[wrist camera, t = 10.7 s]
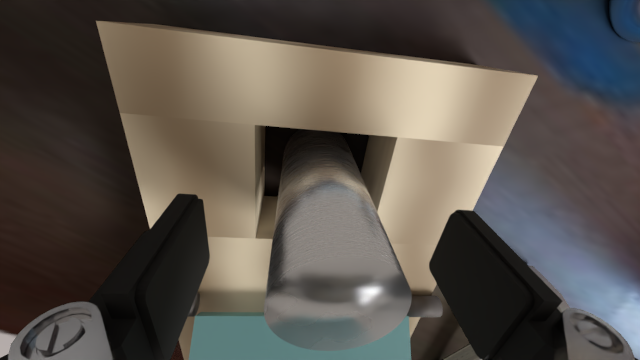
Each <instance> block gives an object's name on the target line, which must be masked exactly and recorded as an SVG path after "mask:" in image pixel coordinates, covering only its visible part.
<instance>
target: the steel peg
mask: <svg viewBox="0 0 640 360" xmlns="http://www.w3.org/2000/svg"><path fill="white" fill-rule="evenodd" d="M411 300H412V295H411V290H410V286H409V284H408V282H407V279H406V277H405V275H404V273H403V270H402V268H401V266H400V263H399V261H398V259H397V256H396V254H395V252H394V250H393V247H392V245H391V243H390V240H389V238H388V236H387V234H386V231H385V229H384V227H383V224H382V222H381V220H380V217H379V215H378V213H377V211H376V208H375V206H374V204H373V201H372V199H371V197H370V194H369V192H368V190H367V188H366V185H365V183H364V181H363V178H362V176H361V174H360V172H359V169H358V167H357V165H356V162H355V160H354V158H353V155H352V153H351V151H350V149H349V146H348V144H347V142H346V140H345V139H344V137H343V136H342V135H341V134H340V133H339V132H332V131H320V130H309V129H300V130H298V131H297V132H295V133H294V134H293V135H292V136H291V137H290V139H289V140H288V142H287V143H286V146H285V149H284V154H283V162H282V170H281V178H280V186H279V193H278V201H277V209H276V217H275V225H274V232H273V240H272V248H271V256H270V264H269V271H268V279H267V287H266V295H265V303H264V317H265V320H266V323H267V325H268V326H269V328H270V329H271V330H272V332H273V333H274V334H276V335H277V336H278V337H279V338H281V339H282V340H284V341H286V342H288V343H290V344H292V345H295V346H297V347H301V348H305V349H310V350H318V351H338V350H346V349H351V348H356V347H360V346H363V345H366V344H369V343H371V342H374V341H376V340H378V339H380V338H382V337H384V336H385V335H387V334H388V333H390V332H391V331H392V330H394V329H395V328H396V327H397V326H398V325H399V324H400V323H401V322H402V321H403V319H404V318H405V317H406V315H407V313H408V311H409V309H410V306H411Z"/></svg>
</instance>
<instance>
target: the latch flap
mask: <svg viewBox="0 0 640 360" xmlns="http://www.w3.org/2000/svg"><path fill="white" fill-rule="evenodd" d="M189 360H411V348H410V330H409V316H407V315H406V317H405V318H404V319H403V321H402V322H401V323H400V324H399V325H398V326H397V327H396V328H395V329H394V330H392V331H391V332H390V333H388V334H387V335H385V336H384V337H382V338H380V339H378V340H376V341H374V342H371V343H369V344H366V345H363V346H360V347H356V348H351V349H346V350H338V351H318V350H310V349H305V348H301V347H297V346H295V345H292V344H290V343H288V342H286V341H284V340H282V339H281V338H279V337H278V336H277V335H276V334H274V333H273V332H272V330H271V329H270V328H269V326H268V325H267V323H266V320H265V317H264V312H200V313H199V314H197V315H196V316H195V320H194V326H193V333H192V340H191V347H190V354H189Z"/></svg>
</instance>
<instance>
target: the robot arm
mask: <svg viewBox="0 0 640 360" xmlns="http://www.w3.org/2000/svg"><path fill="white" fill-rule="evenodd" d="M209 259H210V252H209V244H208V236H207V228H206V220H205V212H204V203H203V200H202V199H198V196H197V195H196V194H177V195H176V197H175V198H174V199H173V200H172V202H171V203H170V204H169V206H168V207H167V208H166V209H165V211H164V212H163V213H162V215H161V216H160V217H159V219H158V220H157V221H156V222H155V224H154V225H153V226H152V228H151V229H150V230H147V231H145V232H144V233H143V234H142V235H141V236H140V237H139V239H138V240H137V241H136V242H135V244H134V245H133V246H132V248H131V249H130V250H129V251H128V253H127V254H126V255H125V256H124V258H123V259H122V260H121V261H120V263H119V264H118V265H117V266H116V268H115V269H114V270H113V271H112V273H111V274H110V275H109V276H108V278H107V279H106V280H105V282H104V283H103V284H102V285H101V287H100V288H99V289H98V290H97V292H96V293H95V294H94V295H93V297H92V298H91V299H90V300H89V302H74V303H68V304H65V305H62V306H59V307H56V308H54V309H52V310H50V311H48V312H46V313H44V314H42V315H40V316H39V317H38V318H36V319H35V320H33V321H32V322H30V323H29V324H28V325H27V326H26V327H25V328H24V329H23V330H22V331H21V332H20V333H19V334H18V335H17V337H16V338H15V340H14V341H13V343H12V344H11V347H10V351H9V354H7V355H5V356H3V357H1V358H0V360H170V359H171V357H172V354H173V352H174V349H175V347H176V344H177V342H178V339H179V337H180V334H181V332H182V329H183V327H184V324H185V322H186V319H187V317H188V314H189V312H190V309H191V307H192V304H193V302H194V299H195V297H196V294H197V292H198V289H199V287H200V284H201V282H202V279H203V277H204V274H205V272H206V269H207V267H208V264H209ZM429 269H430V272H431V274H432V275H433V277H434V279H435V281H436V283H437V285H438V286H439V288H440V290H441V292H442V294H443V295H444V297H445V299H446V301H447V303H448V305H449V306H450V308H451V310H452V312H453V314H454V315H455V317H456V319H457V321H458V323H459V325H460V326H461V328H462V330H463V332H464V334H465V335H466V337H467V339H468V341H469V343H470V345H471V346H472V348H473V350H474V352H475V353H476V355H477V356H478V357H479V358H480V359H482V360H638V359H636V358H634V355H633V353H632V350H631V348H630V346H629V344H628V343H627V341H626V340H625V339H624V338H623V337H622V336H621V334H620V333H618V332H617V331H616V330H615V329H614V328H613V327H612V326H610V325H609V324H608V323H606V322H605V321H603V320H602V319H600V318H598V317H596V316H595V315H593V314H591V313H589V312H586V311H583V310H581V309H576V308H567V309H565V310H564V311H563V312H562V313H561V312H560V311H559V310H558V309H557V307H558V306H559V305H560V304H561V303H562V300H561V299H560V298H559V297H558V296H557V295H556V294H555V293H554V292H553V291H552V290H551V289H550V288H549V287H548V286H547V285H546V284H545V283H544V282H543V281H542V279H541V278H540V277H539V276H538V275H537V274H536V273H535V272H534V271H533V270H532V269H531V268H530V267H529V266H528V265H527V264H526V263H525V262H524V261H523V260H522V259H521V258H520V257H519V256H518V255H517V254H516V253H515V252H514V251H513V250H512V249H511V248H510V247H509V246H508V245H507V244H506V243H505V242H504V241H503V240H502V239H501V238H500V237H499V236H498V235H497V234H496V233H495V232H494V231H493V230H492V229H491V228H490V227H489V226H488V225H487V224H486V223H485V222H484V221H483V220H482V219H481V218H480V217H479V216H478V215H477V214H476V213H475V212H474V211H471V210H456V211H455V212H454V213H452V214H451V215H450V216H449V218H448V221H447V223H446V225H445V228H444V230H443V232H442V234H441V237H440V239H439V241H438V244H437V246H436V248H435V251H434V253H433V255H432V257H431V260H430V262H429Z"/></svg>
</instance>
